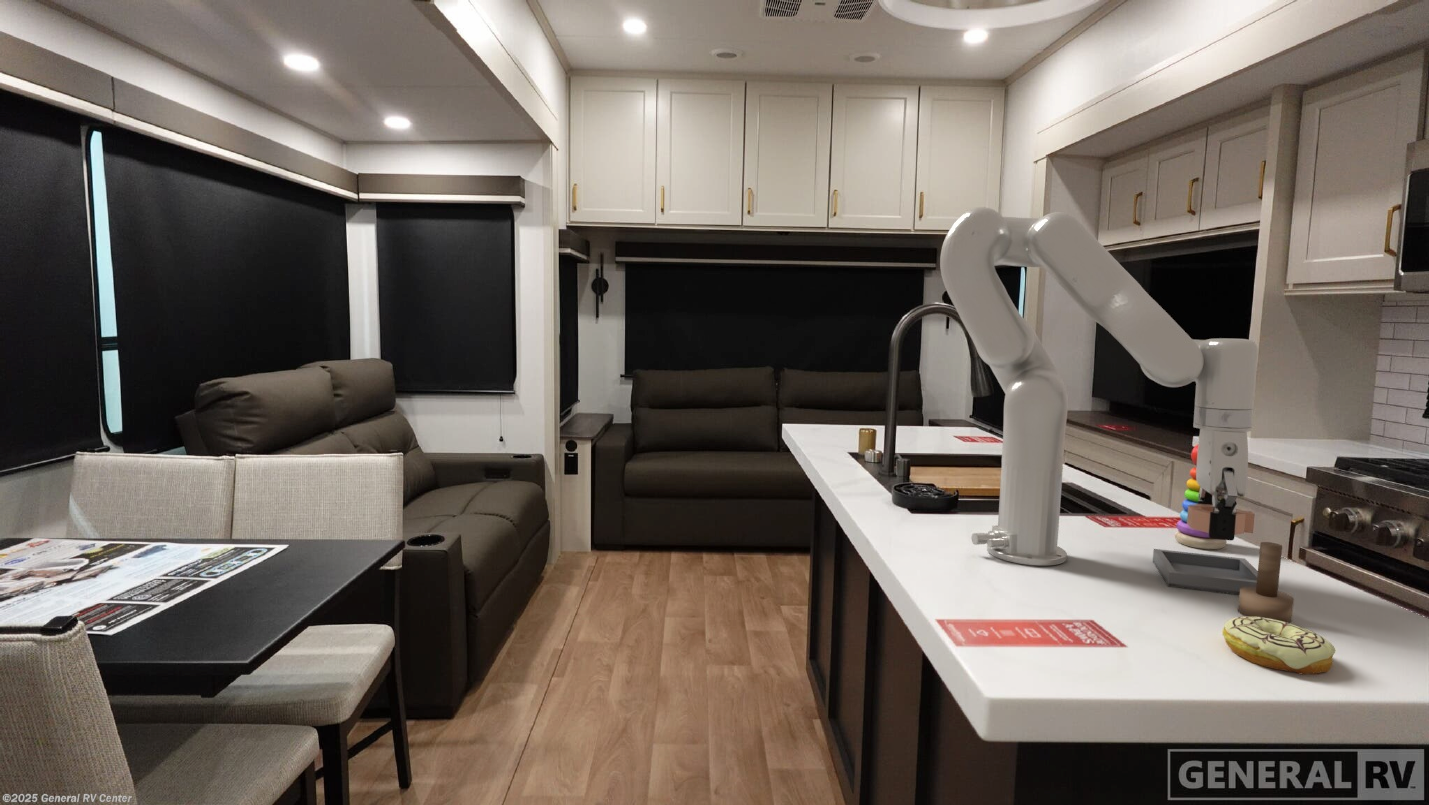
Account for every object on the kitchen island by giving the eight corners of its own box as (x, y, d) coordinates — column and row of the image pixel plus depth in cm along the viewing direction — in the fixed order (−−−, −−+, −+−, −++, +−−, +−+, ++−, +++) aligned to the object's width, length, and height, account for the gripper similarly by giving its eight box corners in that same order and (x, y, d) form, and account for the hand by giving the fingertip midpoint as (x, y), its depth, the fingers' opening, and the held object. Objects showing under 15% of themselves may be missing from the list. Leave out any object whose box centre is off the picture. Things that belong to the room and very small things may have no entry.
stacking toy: (1236, 551, 135) (1246, 446, 133) (1190, 550, 135) (1200, 445, 133) (1208, 538, 143) (1217, 439, 141) (1165, 537, 143) (1173, 438, 141)
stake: (1267, 625, 102) (1274, 552, 100) (1227, 608, 107) (1233, 539, 106) (1302, 622, 103) (1310, 549, 102) (1261, 605, 109) (1268, 537, 108)
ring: (1258, 537, 114) (1260, 518, 114) (1194, 531, 117) (1195, 512, 116) (1244, 526, 120) (1246, 507, 120) (1183, 520, 123) (1185, 502, 123)
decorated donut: (1312, 688, 85) (1315, 655, 84) (1206, 652, 94) (1209, 622, 93) (1346, 664, 91) (1349, 634, 90) (1243, 633, 99) (1246, 605, 99)
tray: (1269, 598, 112) (1271, 584, 111) (1168, 586, 116) (1169, 572, 116) (1243, 571, 124) (1245, 558, 123) (1152, 561, 128) (1153, 548, 128)
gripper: (1270, 427, 108) (1260, 550, 109) (1235, 414, 124) (1227, 521, 126) (1208, 425, 110) (1200, 545, 112) (1182, 412, 126) (1175, 517, 128)
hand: (1214, 531), depth 119 cm, fingers closed on ring, 7 cm apart
